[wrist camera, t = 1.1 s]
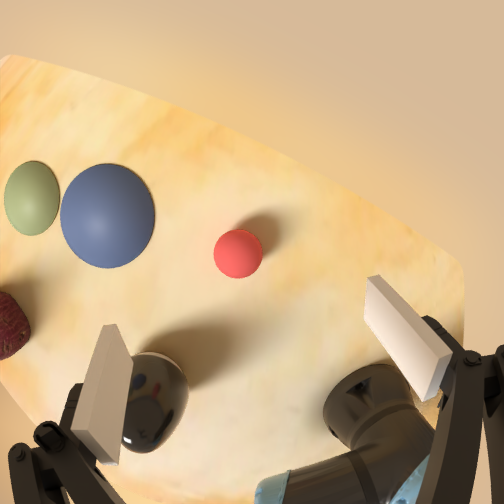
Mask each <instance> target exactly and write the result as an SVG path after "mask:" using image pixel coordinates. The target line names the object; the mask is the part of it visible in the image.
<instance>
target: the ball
mask: <svg viewBox="0 0 504 504" xmlns="http://www.w3.org/2000/svg"><path fill="white" fill-rule="evenodd" d="M262 255H263V253H262V247H261V244H260V242H259V241H258V239H257V238H256V237H255V236H254V235H253V234H251V233H250V232H248V231H245V230H231V231H228V232H227V233H225V234H223V235H222V236H221V237H220V238H219V239H218V241H217V243H216V245H215V248H214V260H215V263H216V265H217V267H218V268H219V270H220V271H221V272H222V273H224V274H225V275H227V276H229V277H232V278H245V277H248V276H250V275H251V274H253V273H254V272H255V271H256V270H257V269H258V267H259V266H260V264H261V261H262Z"/></svg>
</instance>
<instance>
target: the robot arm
mask: <svg viewBox="0 0 504 504" xmlns="http://www.w3.org/2000/svg"><path fill="white" fill-rule="evenodd" d="M364 320H365V322H366V323H367V324H368V326H369V327H370V329H371V330H372V331H373V333H374V334H375V335H376V337H377V338H378V340H379V341H380V342H381V344H382V345H383V346H384V348H385V349H386V351H387V352H388V353H389V355H390V356H391V358H392V359H393V360H394V362H395V363H396V365H397V366H398V368H399V369H400V370H401V372H402V373H403V375H404V376H405V377H404V376H403V375H402V373H401V372H400V371H399V370H398V369H396V368H395V367H393V366H390V365H385V364H378V365H371V366H368V367H365V368H362V369H359V370H357V371H355V372H354V373H352V374H350V375H349V376H347V377H346V378H345V379H343V380H342V381H341V382H340V383H339V384H338V385H337V386H336V387H335V388H334V389H333V390H332V392H331V393H330V394H329V396H328V398H327V400H326V402H325V405H324V409H323V417H324V420H325V423H326V425H327V427H328V429H329V431H330V432H331V433H332V435H334V436H335V437H336V438H338V439H339V440H340V441H341V442H342V443H343V444H344V445H345V446H347V447H348V448H349V449H350V450H351V451H350V452H347V453H344V454H341V455H339V456H336V457H333V458H330V459H327V460H324V461H321V462H318V463H315V464H312V465H309V466H305V467H302V468H299V469H295V470H287V471H286V472H285V473H282V474H278V475H275V476H272V477H268V478H266V479H264V480H262V481H261V482H260V483H259V484H258V486H257V488H256V491H255V498H254V504H469V503H470V498H471V494H472V489H473V484H474V479H475V474H476V468H477V462H478V454H479V448H480V440H481V430H482V419H483V422H484V428H485V434H486V441H487V449H488V457H489V467H490V478H491V495H492V504H504V345H500V346H499V347H498V348H497V350H496V353H495V354H493V355H487V356H481V355H480V354H479V353H477V352H475V351H472V350H466V351H465V350H464V349H463V348H462V347H461V345H460V344H459V343H458V342H457V341H456V340H455V339H454V338H453V337H452V336H451V335H450V334H449V333H447V331H446V330H445V329H444V328H442V326H441V324H440V323H439V322H438V321H437V320H435V319H433V318H431V317H430V316H428V315H426V316H424V317H420V316H419V315H418V314H417V313H416V312H415V311H414V310H413V309H412V307H411V306H410V305H409V304H408V303H407V302H406V301H405V300H404V299H403V298H402V297H401V296H400V295H399V294H398V293H397V292H396V291H395V290H394V289H393V288H392V287H391V286H390V285H389V284H388V283H387V282H386V281H385V280H384V279H383V278H382V277H381V276H380V275H376V276H372V277H368V278H367V284H366V297H365V309H364ZM132 368H133V361H132V359H131V356H130V354H129V352H128V350H127V348H126V345H125V343H124V341H123V339H122V336H121V334H120V332H119V329H118V327H117V325H116V324H112V325H104V326H103V327H102V330H101V333H100V336H99V338H98V341H97V344H96V347H95V350H94V353H93V356H92V359H91V362H90V365H89V368H88V371H87V374H86V377H85V380H84V383H77V384H75V385H74V386H73V388H72V389H71V390H70V392H69V395H68V398H67V402H66V404H65V409H64V411H63V414H62V417H61V421H60V424H59V426H58V425H57V423H56V422H53V421H45V422H43V423H41V424H40V425H39V426H37V428H36V429H35V431H34V435H33V437H34V441H35V442H36V443H37V444H38V445H39V446H40V447H36V448H32V449H31V448H30V447H29V446H28V445H27V444H25V443H17V444H15V445H14V446H13V447H12V448H11V449H10V451H9V453H8V462H9V470H10V478H11V484H12V491H13V496H14V502H15V504H70V502H69V499H68V496H67V493H66V491H67V492H68V494H69V496H70V497H71V499H72V500H73V502H74V503H75V504H126V503H125V502H124V501H123V499H122V498H121V497H120V496H119V495H118V494H117V492H116V491H115V490H114V488H113V487H112V486H111V485H110V483H109V482H108V481H107V480H106V478H105V477H104V476H103V474H102V473H101V472H100V470H99V469H98V468H97V467H96V459H97V460H98V461H99V462H100V463H101V464H102V465H119V455H120V447H121V439H122V431H123V424H124V417H125V410H126V404H127V397H128V391H129V385H130V380H131V374H132ZM406 379H407V380H408V381H407V380H406ZM408 382H409V383H410V385H411V386H412V388H413V389H414V391H415V392H416V393H417V395H418V396H419V398H420V399H421V401H422V402H424V401H426V400H428V399H431V398H433V397H435V396H436V395H437V392H438V390H439V387H440V388H441V390H442V391H443V395H442V397H441V400H440V402H439V404H438V406H437V408H439V407H440V410H439V415H438V421H437V425H436V430H434V429H433V427H432V426H431V425H430V424H429V423H428V421H427V420H426V419H425V418H424V417H423V415H422V414H421V413H420V412H419V411H418V410H417V408H416V407H415V405H414V402H413V399H412V396H411V393H410V387H409V384H408Z"/></svg>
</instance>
